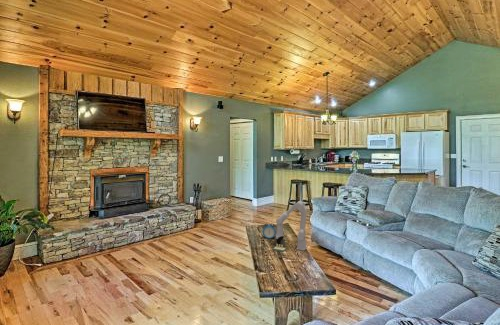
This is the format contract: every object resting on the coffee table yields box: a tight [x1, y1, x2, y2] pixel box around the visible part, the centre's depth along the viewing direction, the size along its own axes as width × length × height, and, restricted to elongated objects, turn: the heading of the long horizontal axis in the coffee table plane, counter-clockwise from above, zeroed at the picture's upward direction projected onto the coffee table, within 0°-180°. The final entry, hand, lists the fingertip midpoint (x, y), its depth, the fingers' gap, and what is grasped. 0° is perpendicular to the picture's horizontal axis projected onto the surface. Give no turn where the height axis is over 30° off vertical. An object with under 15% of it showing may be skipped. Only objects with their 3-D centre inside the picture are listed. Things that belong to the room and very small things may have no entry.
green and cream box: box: [272, 244, 287, 253], centre depth 262 cm, size 8×10×5 cm
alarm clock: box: [262, 223, 277, 239], centre depth 297 cm, size 13×6×15 cm, turn 88°
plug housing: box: [271, 238, 286, 248], centre depth 274 cm, size 4×12×6 cm, turn 61°
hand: (279, 244), depth 273 cm, fingers closed on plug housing, 4 cm apart
